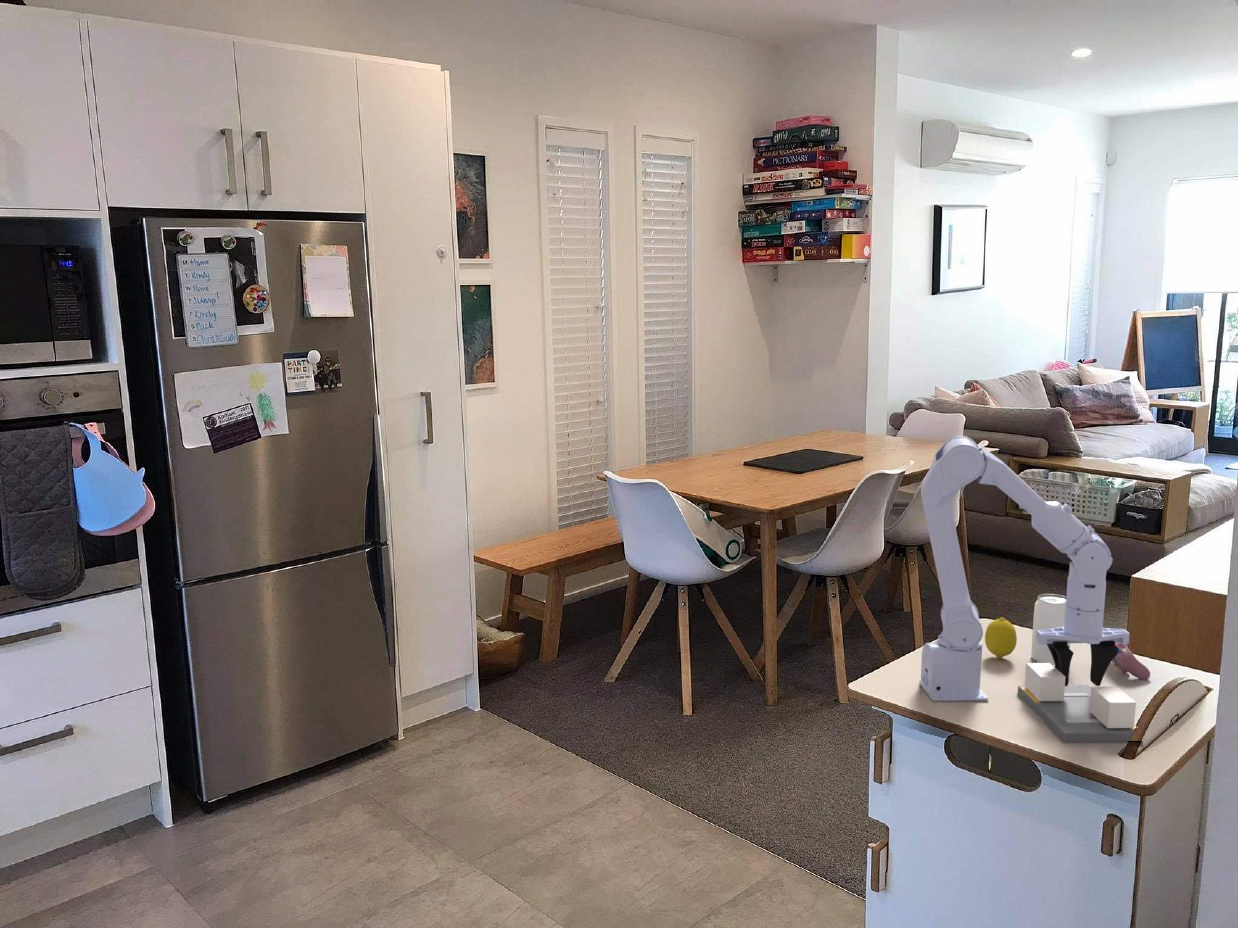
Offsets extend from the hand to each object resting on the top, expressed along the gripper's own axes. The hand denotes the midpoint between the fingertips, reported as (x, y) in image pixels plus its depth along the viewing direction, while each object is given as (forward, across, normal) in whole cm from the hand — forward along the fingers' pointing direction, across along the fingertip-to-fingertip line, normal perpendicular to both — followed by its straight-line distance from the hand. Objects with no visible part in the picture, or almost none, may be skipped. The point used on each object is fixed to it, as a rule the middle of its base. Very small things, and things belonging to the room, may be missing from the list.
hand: (1079, 683), depth 163 cm
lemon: (+4, -6, +20) cm, 21 cm away
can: (+4, +4, +19) cm, 20 cm away
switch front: (+2, +1, -10) cm, 10 cm away
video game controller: (+4, +15, +14) cm, 21 cm away
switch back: (+2, -6, 0) cm, 6 cm away
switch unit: (+3, -2, -5) cm, 7 cm away
